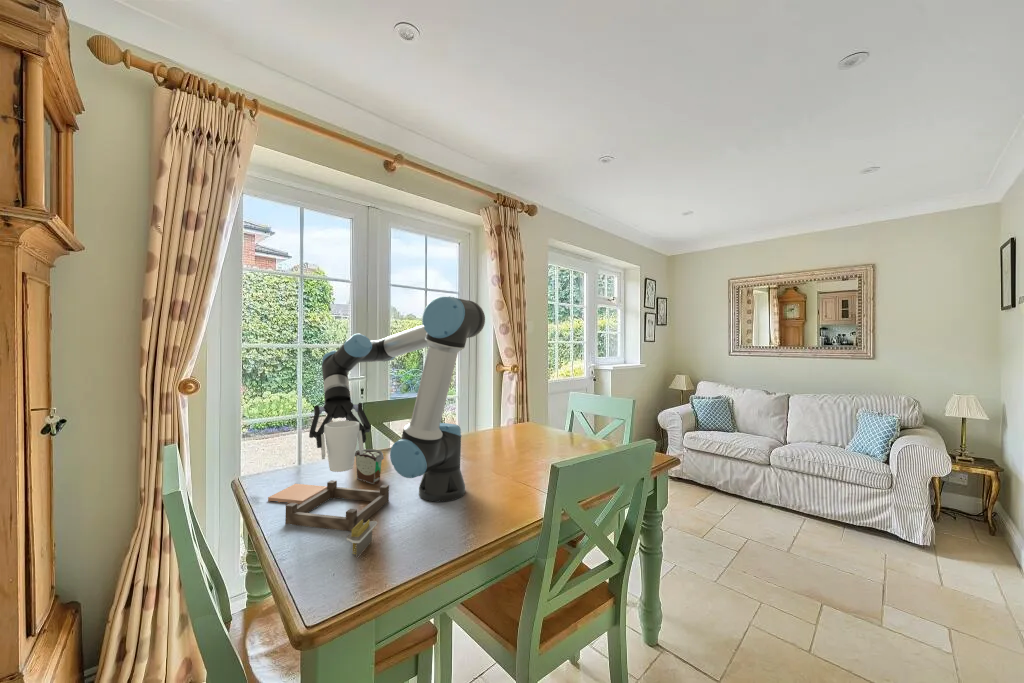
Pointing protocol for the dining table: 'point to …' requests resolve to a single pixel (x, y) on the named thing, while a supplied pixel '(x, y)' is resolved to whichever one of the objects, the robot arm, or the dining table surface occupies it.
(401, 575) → the dining table surface
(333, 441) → the foam cup
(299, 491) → the terracotta tile
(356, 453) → the cake slice
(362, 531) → the grey yellow plug connector
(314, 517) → the frame
